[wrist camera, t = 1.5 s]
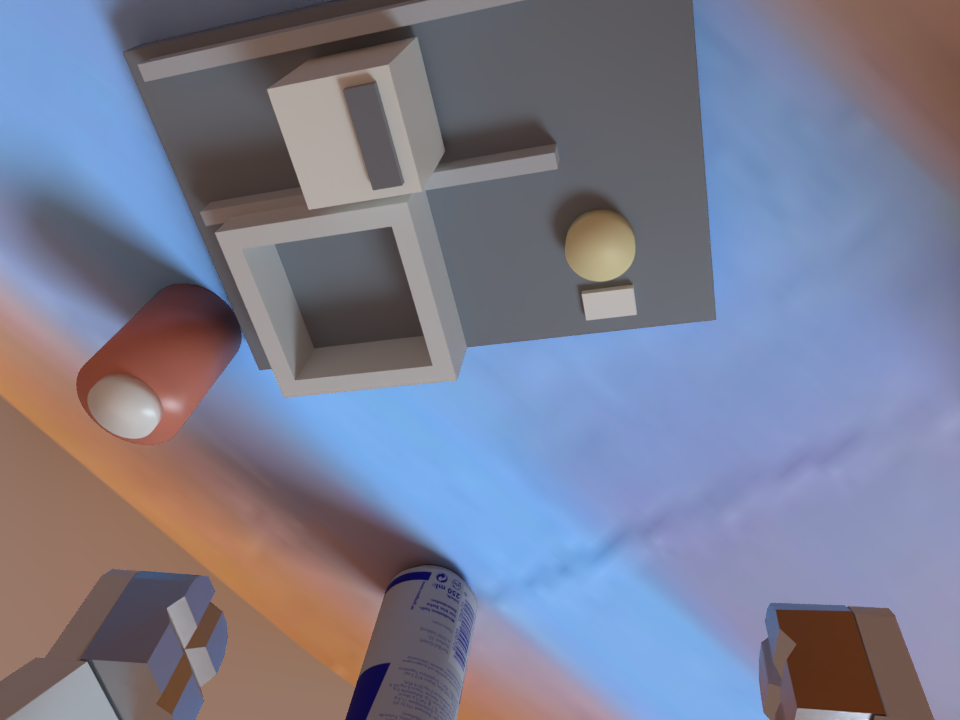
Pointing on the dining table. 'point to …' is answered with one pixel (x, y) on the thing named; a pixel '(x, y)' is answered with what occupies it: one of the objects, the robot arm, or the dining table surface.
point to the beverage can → (417, 649)
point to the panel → (449, 184)
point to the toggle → (360, 124)
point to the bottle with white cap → (160, 364)
